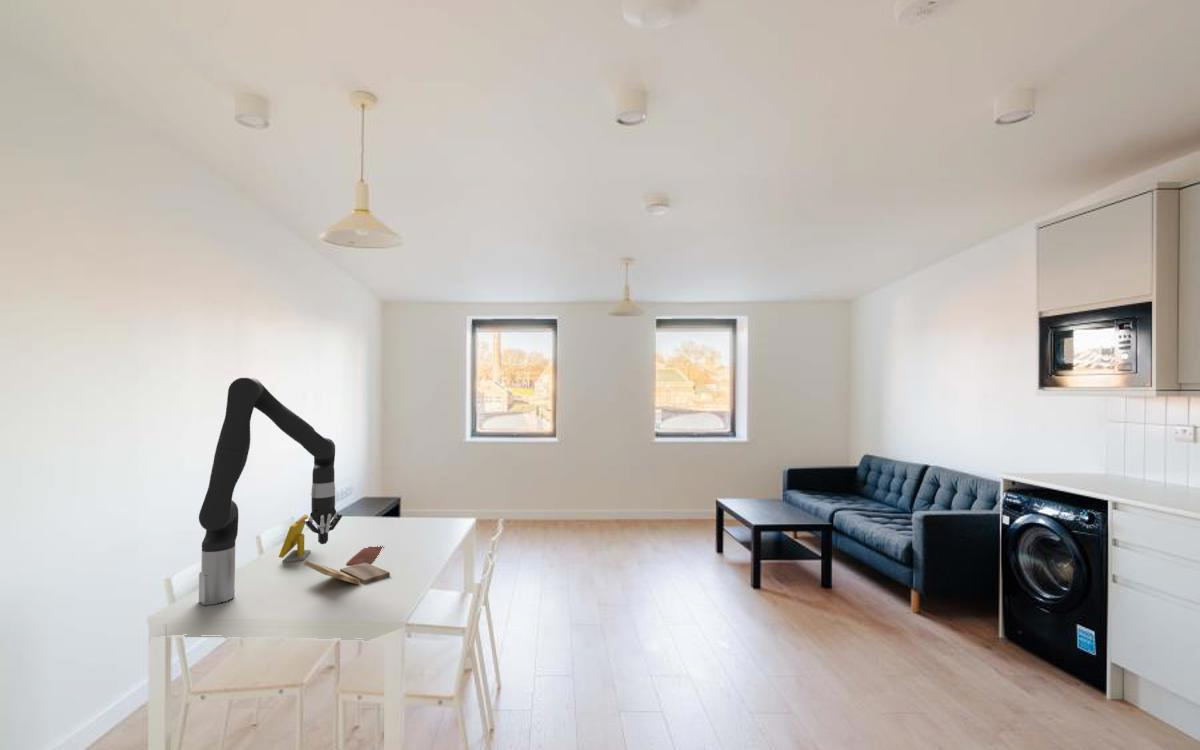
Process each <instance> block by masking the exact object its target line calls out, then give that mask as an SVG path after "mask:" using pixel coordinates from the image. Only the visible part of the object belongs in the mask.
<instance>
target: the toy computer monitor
mask: <svg viewBox="0 0 1200 750" xmlns="http://www.w3.org/2000/svg"><path fill="white" fill-rule="evenodd" d="M308 518H309V515H308V514H303V515H302V516H301V517H300V518H298V519H297V520H296V521H294V523H293V524H291V525H290V526H289V529H288V532H287V534H286V536H285V539H284V542H283V544H282V547H281V549H280V553H279V555H278V558H281V559H283V560H282V562H281V563H283V562H285V563H293V562H300V561H301V562H302V561H304V560H305V559H306V558H307V557H308V556H309V555H310V554H311V549H305V534H304V533H303V530H304V527H305V525H306V524H305V523H304V520H307V519H308ZM296 546H297V547H296ZM294 547H296V549H294ZM291 550H292V551H291ZM284 557H285V558H284ZM292 561H293V562H292Z"/></svg>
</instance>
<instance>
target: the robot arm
mask: <svg viewBox="0 0 1200 750" xmlns="http://www.w3.org/2000/svg"><path fill="white" fill-rule="evenodd" d="M227 390H228V391H227V398H226V399H227V400H226V406H225V407H226V408H225V414H224V415H225V416H224V420H223V423H222V427H221V429H220V433H219V436H218V440H217V443H216V447H215V453H214V456H213V464H212V467H211V473H210V476H209V483H208V488H207V490H206V494H205V496H204V499H203V503H202V505H201V508H200V510H199V514H198V522H199V524H200V526H201V527H202V528H203V529H204V530H206V531H205V535H204V538H203V540H202V543H201V564H200V565H201V566H200V567H201V570H200V572H199V574H198V602H199V603H200V602H201V603H200V604H201V605H203V606H204V605H206V606H210V605H211V606H212V605H217V604H218V603H219V604H222V603H221V602H223V603H226V602H229V601H231V600H233V599H234V598H235V595H236V594H235V593H236V592H235V591H236V589H235V588H236V587H235V585H236V583H235V581H236V541H237V540H236V539H237V538H238V532H239V531H238V530H239V509H238V504H236V502H235V501H234V500H233V494H234V491H235V488H236V485H237V483H238V481H239V480H240V476H241V475H242V473H243V471H244V469H245V466H246V463H247V461H248V456H249V452H250V447H251V418H252V416H253V415H252V414H253V411H254V409H256V410H258V411H259V412H261V413H262V414H264V415H265V416H267V417H268V418H269V419H270V421H272V423H274V424H275V426H276V427H278V428H279V429H280V430H281V431H282V432H283V433H284V434H286V435H287V437H290V438H291V439H292V440H293V441H295V442H297V443H298V444H300V445H301V447H303V449H305V450H306V452H308V453H309V454H310V455H311V456H313V463H314V465H313V469H312V475H311V476H312V479H311V480H312V483H311V493H310V495H311V512H310V513H309V514H310V515H309V516H308V518H307V520H304V523H305V525H306V527H307V528H308V529H310V530H311V532H312V533H315V534H317V541H318V543H319V544H320V545H324V544H325V545H326V544H327V542H328V540H329V532H330V531H334V529H335V528H336V526H337V525H338V524H339V522H340V520H341V519H342V517H343V515H342V514H340V513H338V512H337V510H336V483H335V460H336V459H335V458H336V457H335V456H336V444H335V442H334V441H333V440H332V439H330V438H329V437H328V438H327V437H324V436H322V435H321V434H320V433H318V432H317V431H316V430H315V428H314V427H313V426H312V425H311V424H310V423H308V422H307V421H306V420H304V419H303V418H302V417H300V416H299V415H297V414H296V413H295V412H293V411H292V410H291V409H290V408H288V407H287V406H285V405H284V404H283V403H281V401H279V400H278V399H277V398H276V397H275V395H273V394H272V393H271V392H270V391H269V390H268V389H267V388H266V387H265V386H264V385H263V384H262V382H261V381H260V380H259V379H258V378H254V377H249V376H244V377H238V378H236V379H234V380H233V381H232V382H231V383H230V385H229V386H228V389H227ZM313 523H315V524H316V526H315V525H314V524H313ZM233 597H234V598H233ZM232 598H233V599H232ZM230 599H231V600H230ZM228 600H229V601H228ZM225 601H226V602H225Z"/></svg>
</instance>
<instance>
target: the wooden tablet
mask: <svg viewBox="0 0 1200 750" xmlns="http://www.w3.org/2000/svg"><path fill="white" fill-rule="evenodd" d="M376 546H377V547H372V546H367V547H368V548H365V547H364V548H362V549H361V550H359V551H358V552H357V553H355V554H354V556H352V557H351V558H350V559H349V560H348V561H347V562H346V565H345V566H346V567H350V566H354V565H357V564H361V563H365V562H366V563H368V564H370V565H373V563H374V562H375V561H376V560H377V559H376V558H378V557H379V556H380V554H381V553H380V551H381V549H382V547H383V546H384V545H376ZM378 546H380V547H378ZM381 546H382V547H381ZM381 552H382V551H381ZM379 553H380V554H379ZM378 555H379V556H378ZM377 556H378V557H377ZM375 559H376V560H375Z"/></svg>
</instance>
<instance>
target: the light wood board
mask: <svg viewBox="0 0 1200 750" xmlns="http://www.w3.org/2000/svg"><path fill="white" fill-rule="evenodd" d="M303 565H304V566H306V567H308V568H310V569H312V570H314V571H316V572H318V573H320V574H322V575H325V576H328V577H331V578H335V579H338V580H342V581H344V582H349V583H352V584H353V585H360V584H361V583H360V580H358V579H356V578H354V577H352V576H350V575H347V574H345V573H343V572H341V571H340V570H338V569H335V568H332V567H328V566H325V565H322V564H319V563H316V562H313V561H309V560H305V562H304V563H303Z"/></svg>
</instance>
